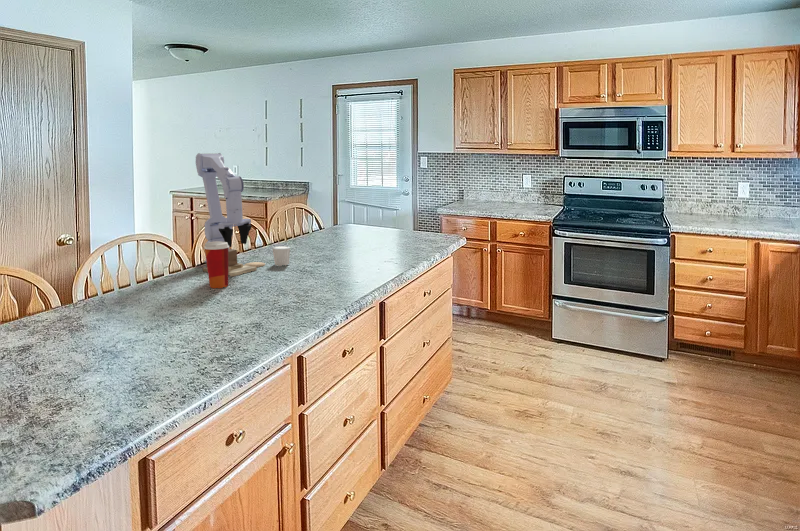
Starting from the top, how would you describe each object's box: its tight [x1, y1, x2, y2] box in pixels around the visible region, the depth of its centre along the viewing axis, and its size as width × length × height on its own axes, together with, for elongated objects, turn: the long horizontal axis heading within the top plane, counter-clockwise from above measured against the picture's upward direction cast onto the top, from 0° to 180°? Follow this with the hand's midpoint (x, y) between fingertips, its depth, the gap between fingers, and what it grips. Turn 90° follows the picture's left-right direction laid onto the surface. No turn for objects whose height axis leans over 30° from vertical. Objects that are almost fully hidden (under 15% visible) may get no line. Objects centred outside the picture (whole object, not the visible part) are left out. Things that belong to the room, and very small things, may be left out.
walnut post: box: [228, 248, 238, 267], centre depth 217 cm, size 4×4×8 cm
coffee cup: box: [203, 241, 230, 289], centre depth 193 cm, size 8×8×15 cm
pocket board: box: [202, 262, 258, 277], centre depth 218 cm, size 16×12×2 cm
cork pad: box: [243, 261, 266, 268], centre depth 228 cm, size 8×8×1 cm
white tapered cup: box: [272, 245, 291, 267], centre depth 229 cm, size 7×7×7 cm
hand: (236, 245), depth 216 cm, fingers open, 7 cm apart
